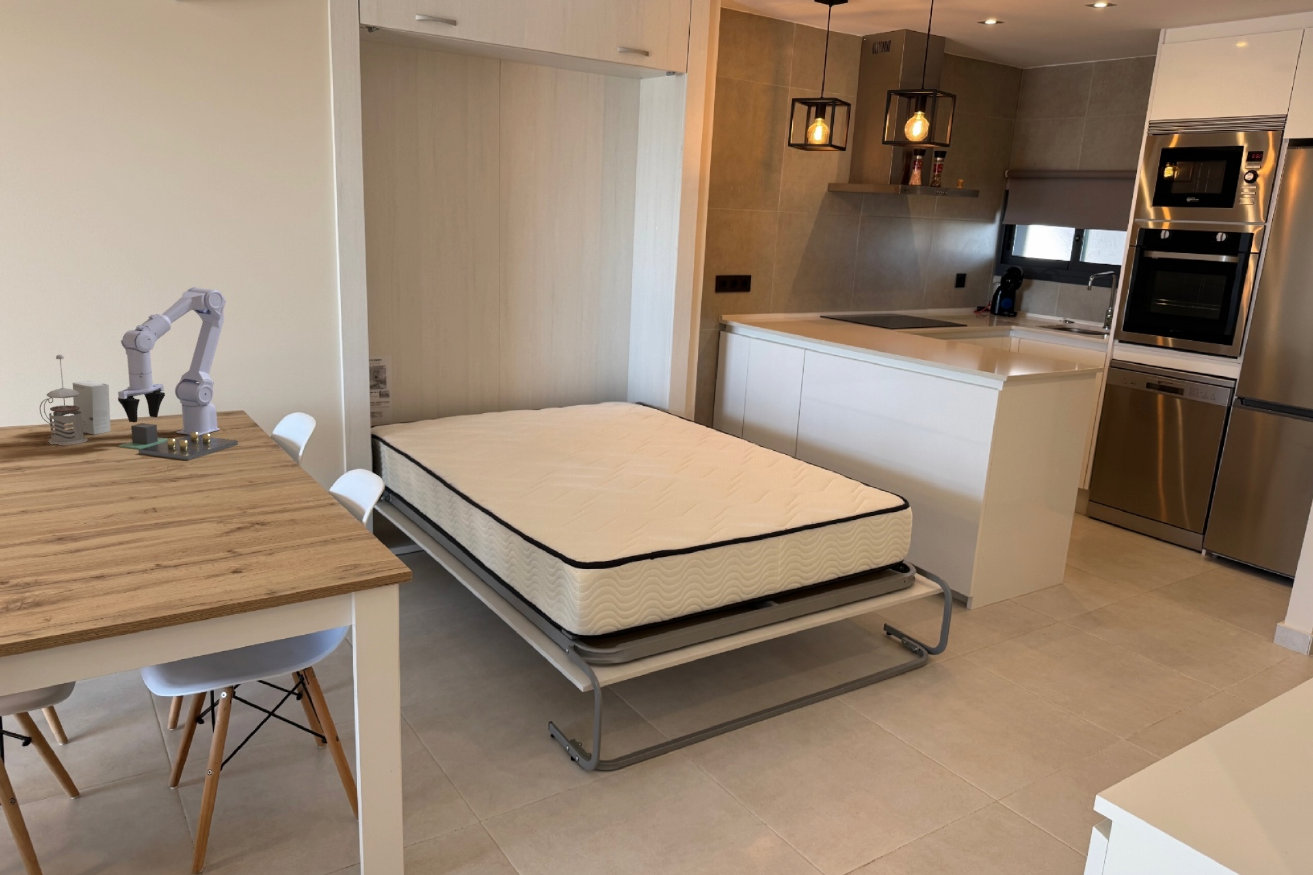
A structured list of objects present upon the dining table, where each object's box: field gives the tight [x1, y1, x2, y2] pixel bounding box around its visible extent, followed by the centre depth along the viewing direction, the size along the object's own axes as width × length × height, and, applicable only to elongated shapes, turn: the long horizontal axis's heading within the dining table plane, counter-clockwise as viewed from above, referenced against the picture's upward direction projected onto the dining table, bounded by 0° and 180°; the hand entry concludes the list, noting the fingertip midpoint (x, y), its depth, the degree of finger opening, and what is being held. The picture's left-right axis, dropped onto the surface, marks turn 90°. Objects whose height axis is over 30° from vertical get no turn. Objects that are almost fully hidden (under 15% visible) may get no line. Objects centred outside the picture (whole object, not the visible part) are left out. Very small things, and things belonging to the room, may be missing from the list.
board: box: [118, 422, 168, 450], centre depth 260 cm, size 12×7×6 cm, turn 167°
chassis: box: [138, 432, 239, 461], centre depth 257 cm, size 20×16×4 cm
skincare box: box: [72, 380, 111, 435], centre depth 268 cm, size 8×6×15 cm
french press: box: [39, 354, 89, 446], centre depth 255 cm, size 10×12×25 cm
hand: (143, 419), depth 259 cm, fingers open, 7 cm apart
